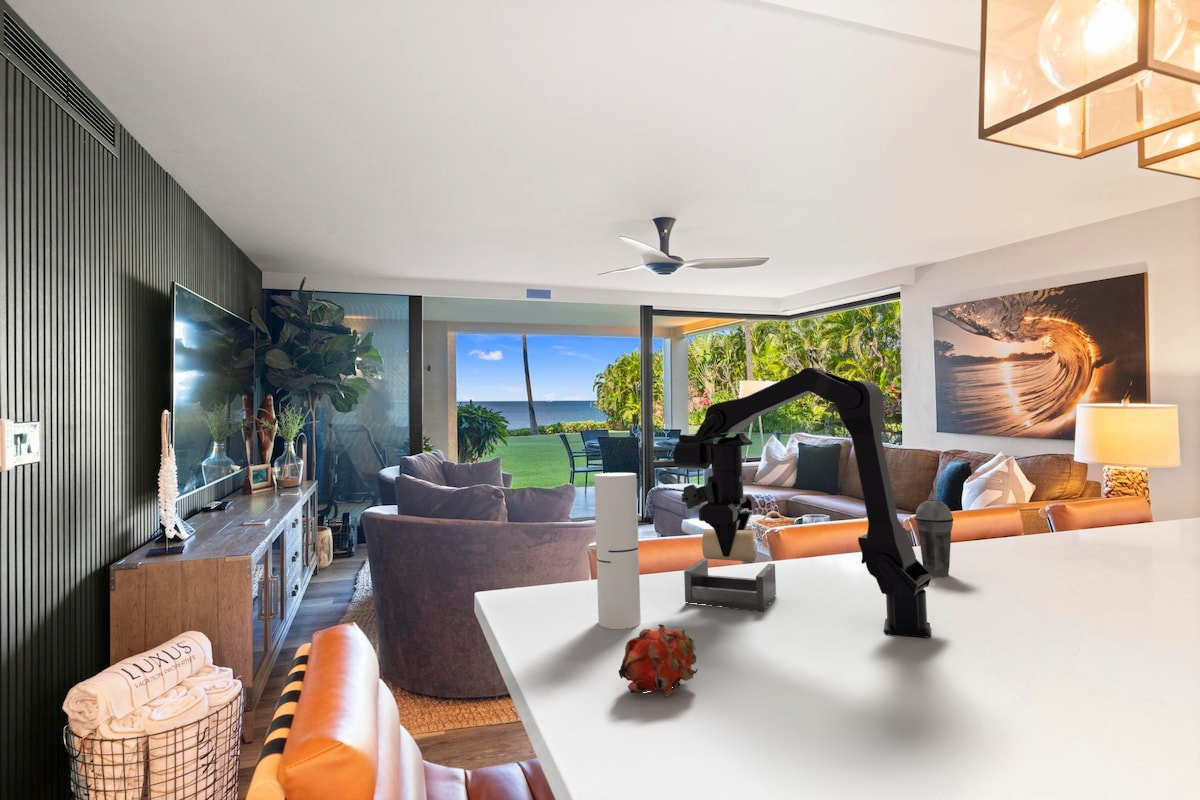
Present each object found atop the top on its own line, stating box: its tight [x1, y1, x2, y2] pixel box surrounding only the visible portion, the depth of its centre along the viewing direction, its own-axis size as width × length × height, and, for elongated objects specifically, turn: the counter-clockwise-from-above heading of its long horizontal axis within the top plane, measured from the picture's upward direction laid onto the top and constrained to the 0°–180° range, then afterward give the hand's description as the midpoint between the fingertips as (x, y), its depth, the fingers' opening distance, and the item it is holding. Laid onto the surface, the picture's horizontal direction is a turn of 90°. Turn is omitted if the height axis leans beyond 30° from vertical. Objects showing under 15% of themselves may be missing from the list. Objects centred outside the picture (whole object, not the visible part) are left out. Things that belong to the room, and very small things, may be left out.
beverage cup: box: [914, 478, 954, 578], centre depth 139 cm, size 7×7×20 cm
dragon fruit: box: [618, 623, 699, 696], centre depth 84 cm, size 8×8×12 cm
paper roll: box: [701, 528, 758, 563], centre depth 124 cm, size 10×6×6 cm, turn 64°
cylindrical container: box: [593, 472, 642, 630], centre depth 112 cm, size 7×7×25 cm
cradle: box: [683, 558, 777, 612], centre depth 124 cm, size 14×11×6 cm
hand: (730, 553), depth 124 cm, fingers closed on paper roll, 6 cm apart
